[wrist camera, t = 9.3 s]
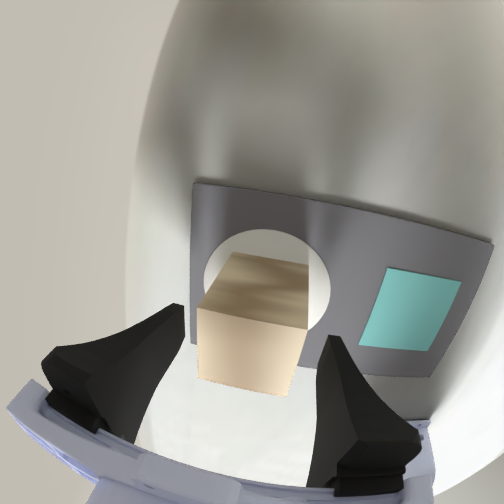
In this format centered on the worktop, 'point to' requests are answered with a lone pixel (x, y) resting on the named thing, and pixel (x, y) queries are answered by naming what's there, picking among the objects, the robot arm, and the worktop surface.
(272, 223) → the mat
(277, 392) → the maple block
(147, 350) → the robot arm
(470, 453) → the worktop surface
